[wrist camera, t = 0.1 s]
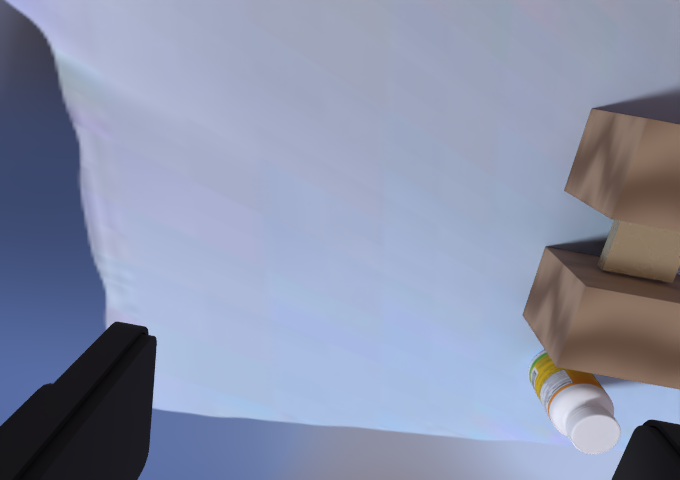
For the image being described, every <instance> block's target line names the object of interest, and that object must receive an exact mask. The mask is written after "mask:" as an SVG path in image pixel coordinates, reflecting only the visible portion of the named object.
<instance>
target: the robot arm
mask: <svg viewBox="0 0 680 480" xmlns="http://www.w3.org/2000/svg"><path fill="white" fill-rule="evenodd" d="M156 345H157V340H156V337H155V336H150V335H148V329H147V328H146V327H144V326H139V325H133V324H128V323H122V322H114V323H113V324H112V325H111V326H110V327H109V328H108V329H107V330H106V331H105V332H104V333H103V334H102V335H101V336H100V337H99V338H98V339H97V340H96V341H95V342H94V343H93V344H92V345H91V346H90V347H89V348H88V349H87V350H86V351H85V352H84V353H83V354H82V355H81V356H80V357H79V358H78V359H77V360H76V361H75V362H74V363H73V364H72V365H71V366H70V367H69V368H68V369H67V370H66V372H65V373H63V375H61V377H59V379H57V381H56V382H55V383H54V384H51V383H50V384H46V385H43V386H42V387H41V388H40V389H38V390H37V391H36V392H35V393H34V394H33V395H32V396H31V397H30V398H29V399H28V400H27V401H26V402H25V403H24V404H23V405H22V406H21V407H20V408H19V409H18V410H17V411H16V412H15V413H14V414H13V415H12V416H11V417H10V418H8V420H7V421H6V422H4V423H3V424H2V425H1V426H0V480H137V479H138V477H139V476H140V474H141V472H142V470H143V468H144V466H145V463H146V460H147V457H148V452H149V442H150V429H151V415H152V401H153V387H154V373H155V359H156ZM612 480H680V425H679V424H674V423H668V422H663V421H657V420H648V421H646V422H645V423H644V424H643V426H638V427H637V428H636V429H635V430H634V432H633V434H632V436H631V438H630V440H629V443H628V445H627V447H626V449H625V451H624V454H623V456H622V458H621V460H620V463H619V465H618V467H617V469H616V471H615V474H614V476H613V478H612Z"/></svg>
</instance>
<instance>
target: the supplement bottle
mask: <svg viewBox="0 0 680 480" xmlns="http://www.w3.org/2000/svg"><path fill="white" fill-rule="evenodd" d="M528 375H529V380H530V382H531V384H532V386H533V388H534V390H535V392H536V394H537V396H538V397H539V399H540V401H541V403H542V405H543V407H544V409H545V410H546V412H547V414H548V416H549V418H550V420H551V422H552V423H553V425H554V426H555V428H556V429H557V430H558V431H559V432H560V433H562V434H563V435H565V436H567V437H569V438H570V440H571V441H572V443H573V445H574V446H575V447H576V448H577V449H578V450H580V451H582V452H584V453H587V454H600V453H603V452H606V451H608V450H610V449H611V448H613V447H614V446H615V445H616V444H617V442H618V440H619V438H620V434H621V431H620V426H619V424H618V423H617V421H616V420H615V418H614V417H613V415H614V407H613V403H612V401H611V399H610V397H609V396H608V394H607V393H606V392H605V390H604V389H603V388H602V386H601V385H600V384H599V382H598V381H597V380H596V378H595V377H594V376H593V374H592V373H587V372H581V371H576V370H570V369H565V368H559V367H556V366H555V364H554V363H553V361H552V360H551V358H550V357H549V355H548V354H547V352H546V350H544V351H542V352H540V353H539V354H538V355H536V356H535V357H534V359H533V360H532V362H531V364H530V366H529V370H528Z"/></svg>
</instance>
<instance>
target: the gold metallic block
mask: <svg viewBox="0 0 680 480" xmlns="http://www.w3.org/2000/svg"><path fill="white" fill-rule="evenodd" d="M597 266H598V267H600V268H601V269H602V270H606V271H611V272H616V273H622V274H627V275H633V276H638V277H643V278H649V279H654V280H660V281H665V282H670V283H673V281H674V279H675V276H676V274H677V272H678V269H679V267H680V232H678V231H673V230H667V229H662V228H657V227H651V226H646V225H641V224H635V223H630V222H624V221H619V220H614V222H613V225H612V227H611V230H610V233H609V235H608V238H607V241H606V243H605V246H604V249H603V251H602V254H601V257H600V259H599V262H598V265H597Z"/></svg>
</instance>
